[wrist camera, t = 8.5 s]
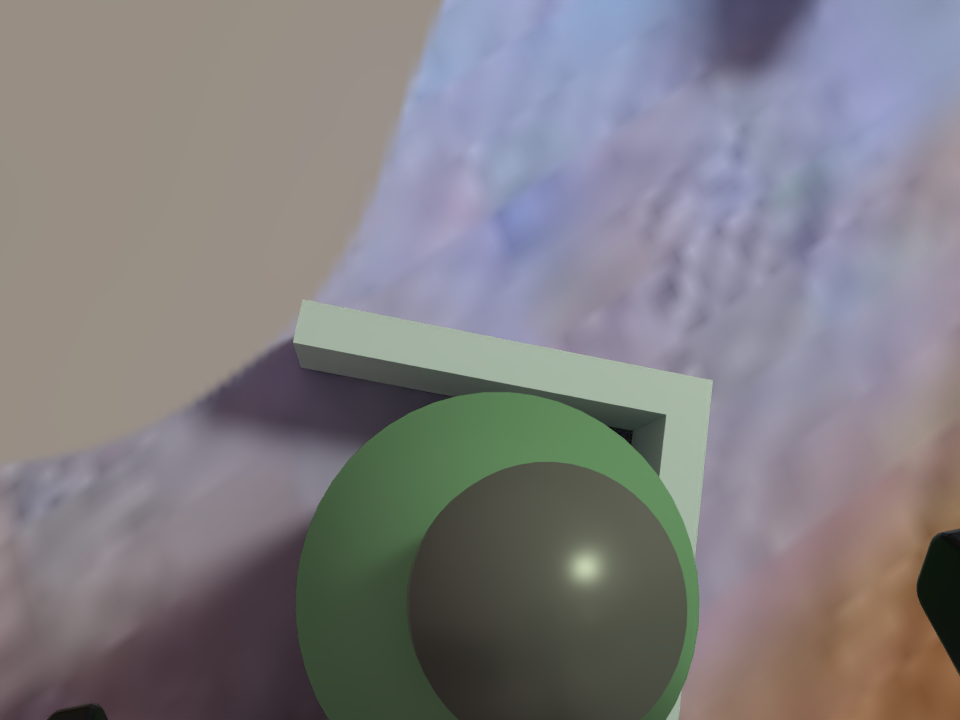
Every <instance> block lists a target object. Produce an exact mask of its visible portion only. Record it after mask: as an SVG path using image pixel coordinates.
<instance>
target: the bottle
mask: <svg viewBox="0 0 960 720" xmlns="http://www.w3.org/2000/svg"><path fill="white" fill-rule="evenodd" d="M698 621H699V589H698V577H697V569H696V564H695V559H694V555H693V550H692V545H691V542H690V539H689V536H688V533H687V530H686V527H685V524H684V521H683V519H682V517H681V515H680V513H679V511H678V509H677V507H676V505H675V502H674V500H673V498H672V496H671V495H670V493H669V492H668V490H667V489H666V487H665V485H664V484H663V482H662V481H661V479H660V478H659V476H658V475H657V473H656V472H655V471H654V470H653V469H652V467H651V466H650V465H649V464H648V462H647V461H646V460H645V459H644V458H643V456H642V455H641V454H640V453H639V452H637V451H636V450H635V449H634V448H633V447H632V446H631V445H630V444H629V443H628V442H627V441H626V440H625V439H624V438H623V437H621V436H620V435H618V434H617V433H616V432H614V431H613V430H612V429H610V428H609V427H608V426H606V425H605V424H604V423H602V422H600V421H598V420H597V419H595V418H593V417H591V416H589V415H588V414H586V413H584V412H582V411H580V410H578V409H575V408H573V407H570V406H568V405H565V404H563V403H560V402H558V401H554V400H550V399H546V398H542V397H538V396H535V395H528V394H520V393H512V392H482V393H475V394H468V395H460V396H456V397H452V398H449V399H445V400H441V401H438V402H434V403H432V404H429V405H427V406H424V407H422V408H420V409H417V410H415V411H413V412H410V413H409V414H407V415H405V416H403V417H402V418H400V419H398V420H397V421H395V422H393V423H391V424H390V425H388V426H387V427H385V428H384V429H383V430H382V431H380V432H379V433H378V434H376V435H375V436H374V437H372V438H371V439H370V440H369V441H367V442H366V443H365V444H364V445H363V446H362V447H361V448H360V449H359V450H358V451H357V452H356V453H355V454H354V455H353V456H352V457H351V458H350V459H349V460H348V462H347V463H346V464H345V466H344V467H343V468H342V470H341V471H340V472H339V473H338V475H337V476H336V477H335V479H334V480H333V481H332V483H331V485H330V486H329V488H328V490H327V491H326V493H325V495H324V497H323V498H322V500H321V502H320V503H319V505H318V507H317V510H316V512H315V515H314V517H313V519H312V522H311V524H310V526H309V529H308V531H307V535H306V538H305V542H304V546H303V549H302V553H301V556H300V562H299V569H298V575H297V582H296V623H297V632H298V641H299V646H300V650H301V654H302V658H303V662H304V666H305V670H306V673H307V676H308V678H309V681H310V683H311V686H312V688H313V691H314V693H315V696H316V698H317V700H318V702H319V704H320V705H321V707H322V709H323V711H324V713H325V714H326V716H327V718H328V720H666V719H667V717H668V716H669V714H670V712H671V710H672V709H673V707H674V705H675V704H676V701H677V699H678V697H679V695H680V692H681V690H682V688H683V685H684V683H685V681H686V678H687V675H688V671H689V668H690V664H691V661H692V658H693V654H694V649H695V643H696V637H697V631H698Z"/></svg>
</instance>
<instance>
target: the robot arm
mask: <svg viewBox="0 0 960 720" xmlns="http://www.w3.org/2000/svg"><path fill="white" fill-rule="evenodd" d="M917 595H918V598H919V601H920V604H921V606H922V608H923V610H924V612H925V614H926V615H927V617H928V619H929V621H930V623H931V624H932V626H933V628H934V630H935V632H936V634H937V635H938V637H939V639H940V641H941V643H942V644H943V646H944V648H945V650H946V652H947V653H948V655H949V657H950V659H951V661H952V663H953V664H954V666H955V668H956V670H957V672H958V673H959V675H960V529H956V530H951V531H946V532H941V533H938V534H937V535H936V536H934V537H933V539H932V540H931V542H930V545H929V548H928V551H927V554H926V557H925V560H924V563H923V565H922V568H921V571H920V574H919V577H918V580H917ZM47 720H108V719H107V716H106V714H105V712H104V710H103V708H102V707H101V706H100V705H99V704H96V703H90V704H85V705H80V706H75V707H70V708H65V709H61V710H58V711H56V712H54V713H53V714H52V715H51V716H50V717H49V718H48V719H47Z"/></svg>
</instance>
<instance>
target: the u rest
mask: <svg viewBox="0 0 960 720" xmlns="http://www.w3.org/2000/svg"><path fill="white" fill-rule="evenodd" d="M293 344H294V348H295V351H296V354H297V357H298V360H299V364H300V367H301V368H306V369H311V370H316V371H322V372H327V373H332V374H337V375H343V376H348V377H353V378H358V379H364V380H369V381H374V382H379V383H385V384H390V385H395V386H400V387H405V388H411V389H416V390H421V391H426V392H432V393H437V394H442V395H447V396H453V397H456V396H460V395H468V394H475V393H482V392H512V393H520V394H528V395H535V396H538V397H542V398H546V399H550V400H554V401H558V402H560V403H563V404H565V405H568V406H570V407H573V408H575V409H578V410H580V411H582V412H584V413H586V414H588V415H589V416H591V417H593V418H595V419H597V420H598V421H600V422H602V423H604V424H605V425H606V426H610V427H615V428H620V429H626V430H631V431H633V434H632V442H631V446H632V447H633V448H634V449H635V450H636V451H637V452H639V453H640V454H641V455H642V456H643V458H644V459H645V460H646V461H647V462H648V464H649V465H650V466H651V467H652V469H653V470H654V471H655V472H656V473H657V475H658V476H659V478H660V479H661V481H662V482H663V484H664V485H665V487H666V489H667V490H668V492H669V493H670V495H671V496H672V498H673V500H674V502H675V505H676V507H677V509H678V511H679V513H680V515H681V517H682V519H683V521H684V524H685V527H686V530H687V533H688V536H689V539H690V542H691V545H692V550H693V555H694V559H695V552H696V542H697V532H698V522H699V512H700V502H701V492H702V482H703V472H704V462H705V452H706V442H707V432H708V422H709V413H710V403H711V393H712V383H713V380H708V379H702V378H697V377H692V376H687V375H682V374H677V373H672V372H667V371H662V370H657V369H652V368H647V367H642V366H637V365H632V364H627V363H622V362H617V361H612V360H606V359H601V358H596V357H591V356H586V355H581V354H576V353H571V352H566V351H561V350H556V349H551V348H546V347H541V346H536V345H531V344H526V343H521V342H516V341H510V340H505V339H500V338H495V337H490V336H485V335H480V334H475V333H470V332H465V331H460V330H455V329H450V328H445V327H440V326H435V325H430V324H425V323H419V322H414V321H409V320H404V319H399V318H394V317H389V316H384V315H379V314H374V313H369V312H364V311H359V310H354V309H349V308H344V307H339V306H334V305H329V304H323V303H318V302H313V301H308V300H302V305H301V309H300V313H299V318H298V322H297V326H296V331H295V335H294V340H293ZM681 691H682V690H681ZM680 701H681V692H680V695H679V697H678V699H677V701H676V704H675V705H674V707H673V709H672V710H671V712H670V714H669V716H668V717H667V719H666V720H679V711H680Z"/></svg>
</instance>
